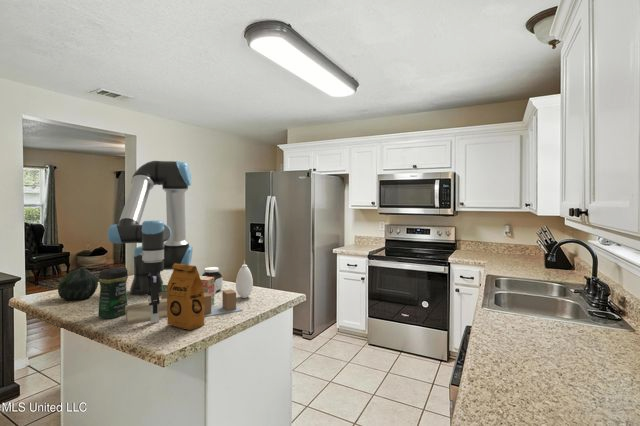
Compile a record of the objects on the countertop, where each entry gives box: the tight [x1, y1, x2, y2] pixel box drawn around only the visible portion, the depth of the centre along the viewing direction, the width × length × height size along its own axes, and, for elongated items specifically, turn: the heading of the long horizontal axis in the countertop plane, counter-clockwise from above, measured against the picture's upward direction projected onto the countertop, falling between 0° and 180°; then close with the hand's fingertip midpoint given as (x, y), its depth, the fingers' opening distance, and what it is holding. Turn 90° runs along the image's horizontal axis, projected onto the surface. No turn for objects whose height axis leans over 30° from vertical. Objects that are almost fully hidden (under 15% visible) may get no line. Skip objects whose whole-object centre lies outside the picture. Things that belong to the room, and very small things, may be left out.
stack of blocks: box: [160, 275, 215, 307], centre depth 143 cm, size 21×6×12 cm, turn 82°
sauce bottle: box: [235, 259, 254, 299], centre depth 155 cm, size 8×8×18 cm
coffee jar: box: [97, 266, 129, 320], centre depth 129 cm, size 10×8×19 cm
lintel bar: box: [124, 298, 167, 325], centre depth 128 cm, size 4×18×6 cm, turn 133°
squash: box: [57, 267, 99, 301], centre depth 152 cm, size 14×15×15 cm
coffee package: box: [166, 264, 205, 331], centre depth 119 cm, size 10×12×22 cm
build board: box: [204, 289, 243, 318], centre depth 136 cm, size 10×18×7 cm, turn 121°
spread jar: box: [201, 266, 223, 294], centre depth 164 cm, size 12×11×12 cm
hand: (153, 316), depth 128 cm, fingers open, 12 cm apart
